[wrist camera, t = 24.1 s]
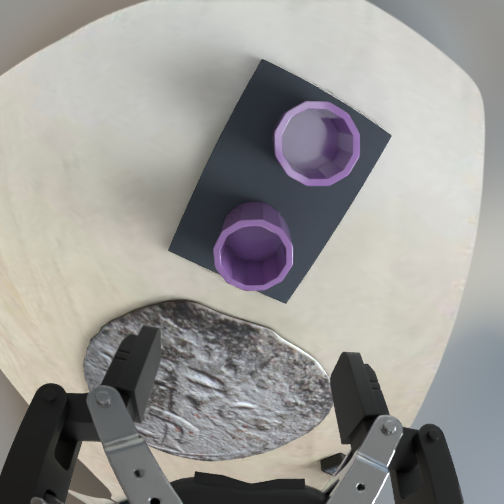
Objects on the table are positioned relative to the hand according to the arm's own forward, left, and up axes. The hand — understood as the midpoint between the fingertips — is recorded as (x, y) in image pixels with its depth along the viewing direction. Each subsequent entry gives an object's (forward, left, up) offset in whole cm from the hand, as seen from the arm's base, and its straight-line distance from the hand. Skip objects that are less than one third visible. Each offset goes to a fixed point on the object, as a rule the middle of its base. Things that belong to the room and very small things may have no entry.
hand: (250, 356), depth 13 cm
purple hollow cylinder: (-9, 0, -14) cm, 17 cm away
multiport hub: (+35, +38, -15) cm, 54 cm away
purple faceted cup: (0, 0, -14) cm, 14 cm away
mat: (-4, 0, -15) cm, 15 cm away
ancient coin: (+26, +5, -15) cm, 31 cm away
